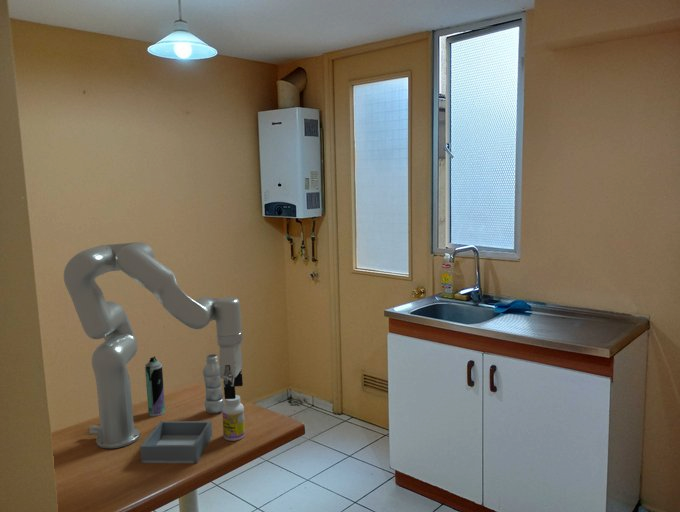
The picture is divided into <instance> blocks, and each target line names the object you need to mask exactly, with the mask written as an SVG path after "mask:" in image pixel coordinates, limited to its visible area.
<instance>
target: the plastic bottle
mask: <svg viewBox="0 0 680 512" xmlns="http://www.w3.org/2000/svg"><path fill="white" fill-rule="evenodd" d="M205 357H206V360H205V361H206V363H205V364H204V367H203V369H202V376H203V379H204V386H205V400H204V408H205V410H206V412H207V413H208V414H218V413H222V408H223V406H224V405H225V404H226V403H225V398H224V396H223V395H224V393H223V389H222V388H223V387H222V385H223V384H222V383H223V381H222V380H223V378H220V365H219V360H218V354H213V353H211V354H207V355H206V356H205Z"/></svg>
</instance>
